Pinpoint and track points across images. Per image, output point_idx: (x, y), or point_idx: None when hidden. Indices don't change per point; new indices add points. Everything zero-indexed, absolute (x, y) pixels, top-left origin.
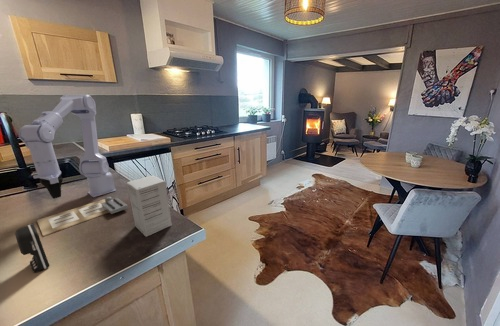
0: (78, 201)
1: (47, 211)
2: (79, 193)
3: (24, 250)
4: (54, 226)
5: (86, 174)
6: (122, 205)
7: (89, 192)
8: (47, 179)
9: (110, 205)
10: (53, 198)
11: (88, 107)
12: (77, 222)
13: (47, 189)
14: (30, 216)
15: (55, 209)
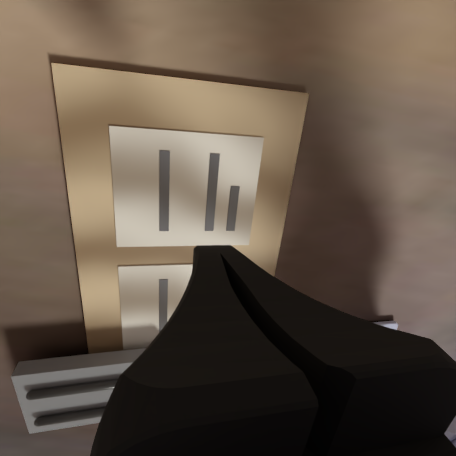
0: (347, 277)
1: (375, 158)
2: (426, 294)
3: None
4: (130, 139)
5: (452, 435)
6: (34, 421)
7: (385, 326)
8: None
9: (79, 388)
10: (195, 247)
11: None
12: (83, 231)
13: (281, 282)
14: (399, 84)
15: (361, 190)
